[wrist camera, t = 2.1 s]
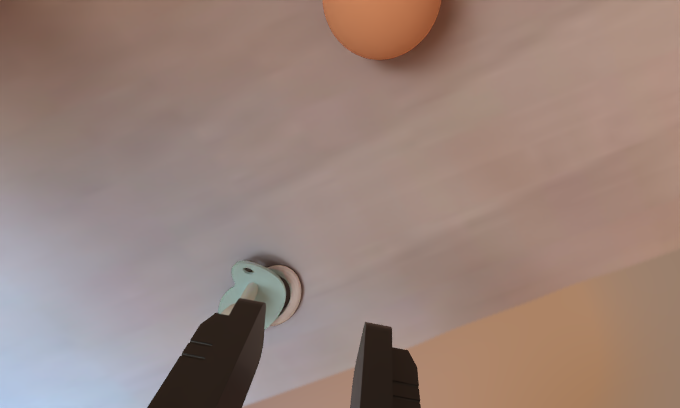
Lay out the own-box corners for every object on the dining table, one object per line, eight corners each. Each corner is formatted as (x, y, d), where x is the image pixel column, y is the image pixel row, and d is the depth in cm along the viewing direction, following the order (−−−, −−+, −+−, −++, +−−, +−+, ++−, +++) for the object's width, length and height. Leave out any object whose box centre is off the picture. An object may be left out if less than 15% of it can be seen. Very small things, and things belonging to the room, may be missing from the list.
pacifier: (314, 268, 31) (244, 240, 30) (301, 323, 25) (214, 290, 25) (285, 331, 34) (220, 307, 33) (267, 392, 28) (188, 364, 28)
